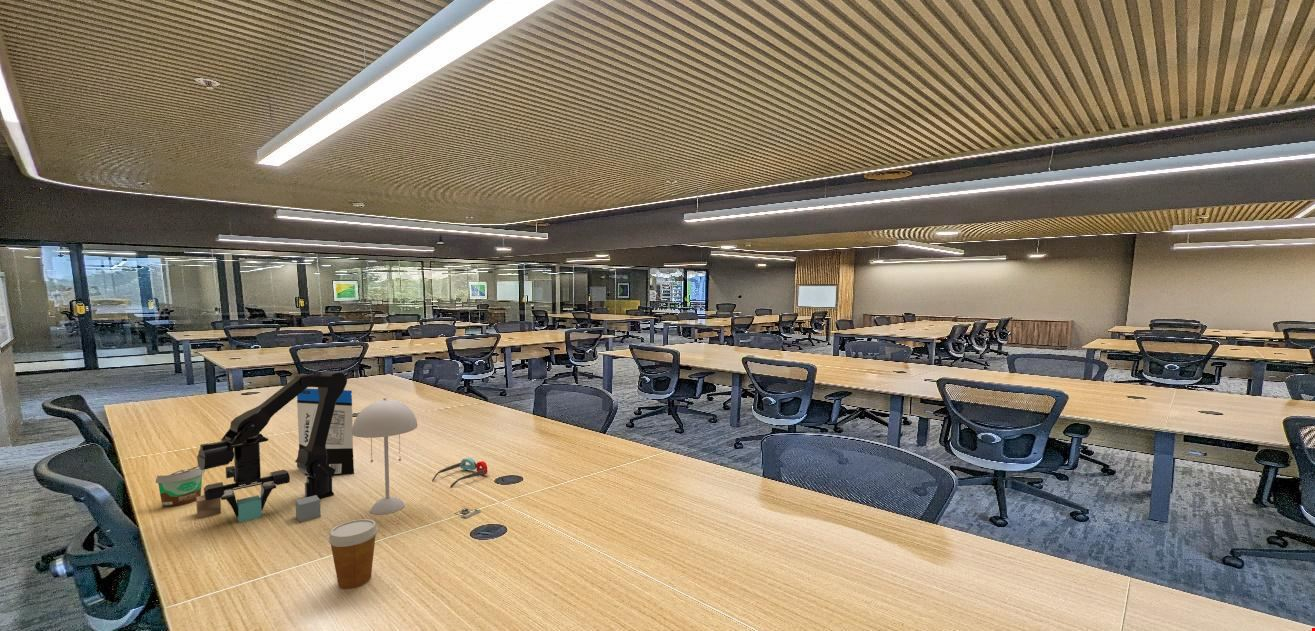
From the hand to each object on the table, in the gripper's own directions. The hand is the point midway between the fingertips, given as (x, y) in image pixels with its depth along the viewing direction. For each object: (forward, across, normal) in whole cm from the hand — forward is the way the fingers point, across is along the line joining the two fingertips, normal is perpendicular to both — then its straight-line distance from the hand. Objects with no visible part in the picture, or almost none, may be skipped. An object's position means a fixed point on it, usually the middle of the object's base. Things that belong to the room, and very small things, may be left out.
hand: (249, 513), depth 145 cm
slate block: (+1, -12, +12) cm, 17 cm away
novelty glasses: (+2, -56, +13) cm, 58 cm away
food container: (+1, +12, -28) cm, 30 cm away
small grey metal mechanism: (+2, -48, +45) cm, 66 cm away
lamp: (+1, -30, +22) cm, 37 cm away
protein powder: (+1, -25, -29) cm, 38 cm away
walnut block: (+1, +8, -12) cm, 14 cm away
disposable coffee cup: (+1, -12, +59) cm, 60 cm away
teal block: (+1, 0, 0) cm, 1 cm away
